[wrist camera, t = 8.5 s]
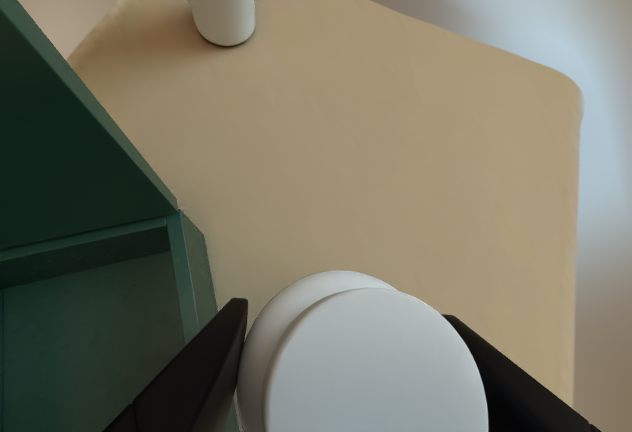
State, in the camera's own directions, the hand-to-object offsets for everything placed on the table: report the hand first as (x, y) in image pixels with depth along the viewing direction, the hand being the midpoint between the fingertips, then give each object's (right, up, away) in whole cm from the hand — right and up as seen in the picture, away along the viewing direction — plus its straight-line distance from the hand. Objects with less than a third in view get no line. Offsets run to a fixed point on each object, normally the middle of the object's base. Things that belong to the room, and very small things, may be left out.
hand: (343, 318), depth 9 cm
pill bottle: (-1, -3, +6) cm, 7 cm away
